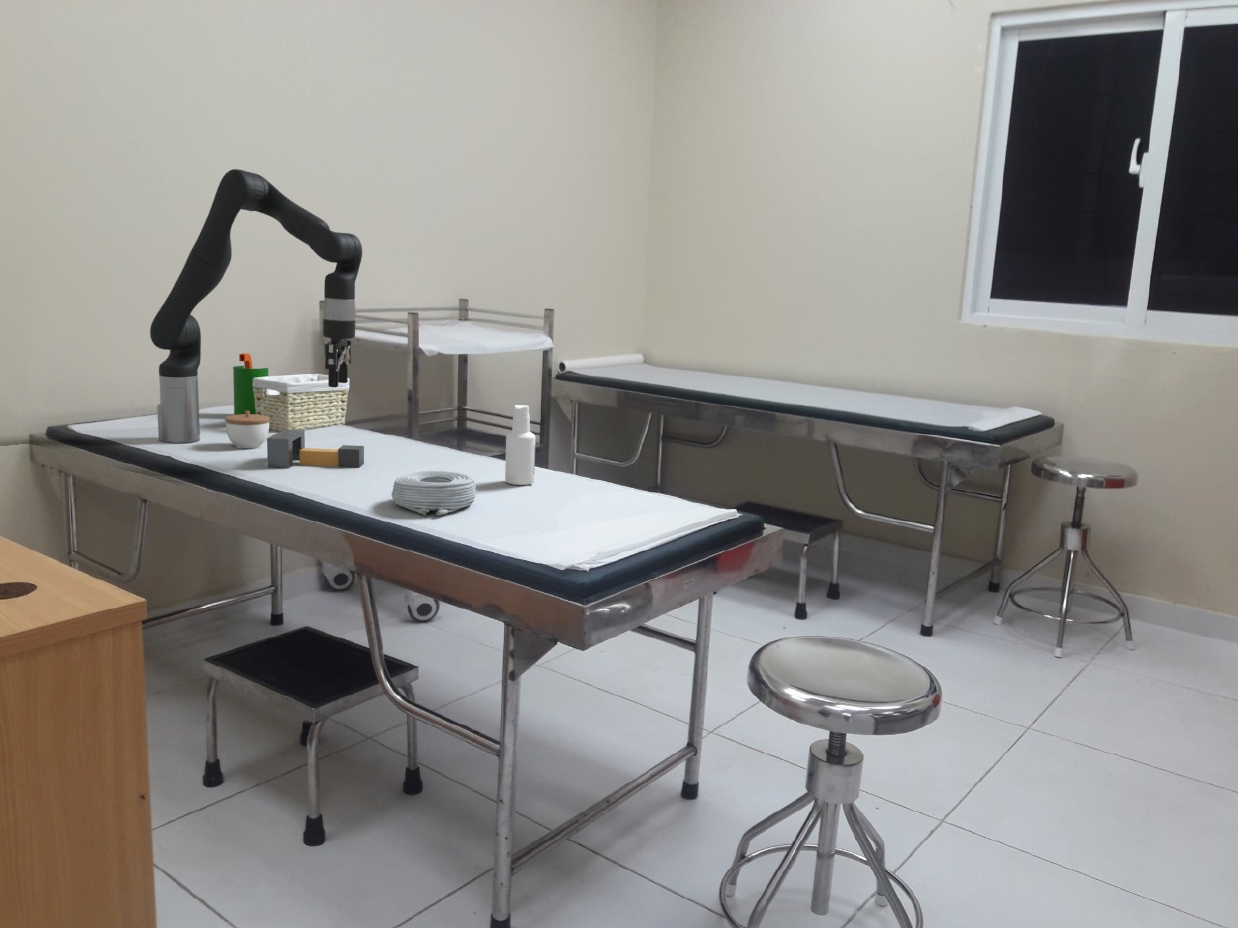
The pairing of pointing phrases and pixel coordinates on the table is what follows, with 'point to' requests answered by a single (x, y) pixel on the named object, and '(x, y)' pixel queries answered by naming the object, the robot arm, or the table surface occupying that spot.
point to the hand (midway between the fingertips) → (338, 384)
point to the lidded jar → (247, 429)
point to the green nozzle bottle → (245, 385)
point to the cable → (434, 491)
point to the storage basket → (300, 401)
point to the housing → (284, 448)
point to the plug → (333, 456)
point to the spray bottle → (520, 449)
